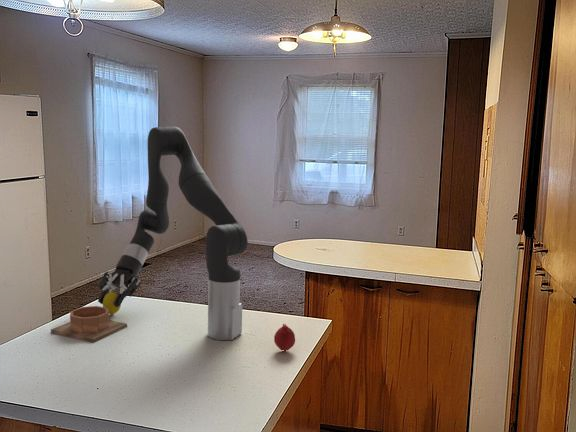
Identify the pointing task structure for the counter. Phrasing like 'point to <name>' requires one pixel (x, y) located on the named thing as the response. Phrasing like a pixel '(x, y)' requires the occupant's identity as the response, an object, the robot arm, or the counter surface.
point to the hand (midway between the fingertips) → (108, 304)
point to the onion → (284, 338)
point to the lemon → (110, 302)
